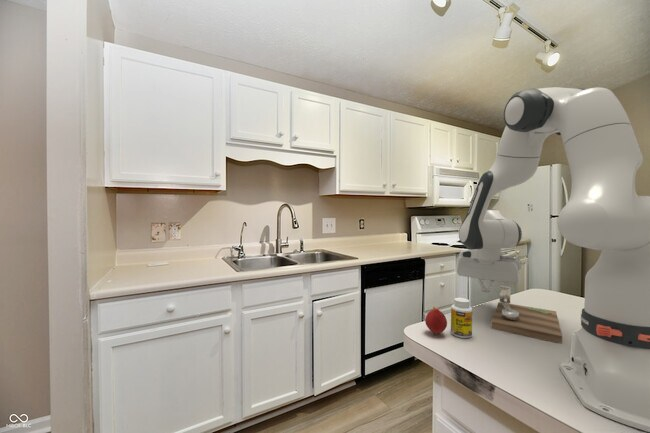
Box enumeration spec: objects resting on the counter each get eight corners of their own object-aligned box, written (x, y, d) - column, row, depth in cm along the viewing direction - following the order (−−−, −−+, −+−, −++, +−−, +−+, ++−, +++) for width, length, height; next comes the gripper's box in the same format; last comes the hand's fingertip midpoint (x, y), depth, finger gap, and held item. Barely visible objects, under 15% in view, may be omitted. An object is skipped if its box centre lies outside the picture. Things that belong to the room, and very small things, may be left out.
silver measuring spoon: (520, 320, 85) (520, 300, 85) (502, 318, 87) (503, 298, 87) (511, 304, 100) (511, 286, 100) (497, 302, 102) (497, 285, 102)
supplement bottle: (453, 338, 80) (453, 302, 80) (448, 329, 85) (449, 296, 85) (474, 339, 79) (475, 303, 78) (468, 331, 84) (469, 297, 84)
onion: (443, 330, 85) (443, 303, 85) (449, 339, 79) (449, 310, 79) (423, 329, 85) (423, 303, 85) (428, 338, 80) (428, 310, 79)
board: (561, 343, 76) (561, 335, 76) (491, 328, 86) (491, 321, 86) (555, 317, 95) (556, 310, 95) (498, 307, 105) (498, 301, 105)
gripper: (523, 256, 99) (522, 295, 99) (461, 250, 113) (460, 284, 113) (519, 258, 94) (518, 299, 94) (455, 252, 108) (454, 288, 109)
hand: (486, 291), depth 104 cm, fingers closed
